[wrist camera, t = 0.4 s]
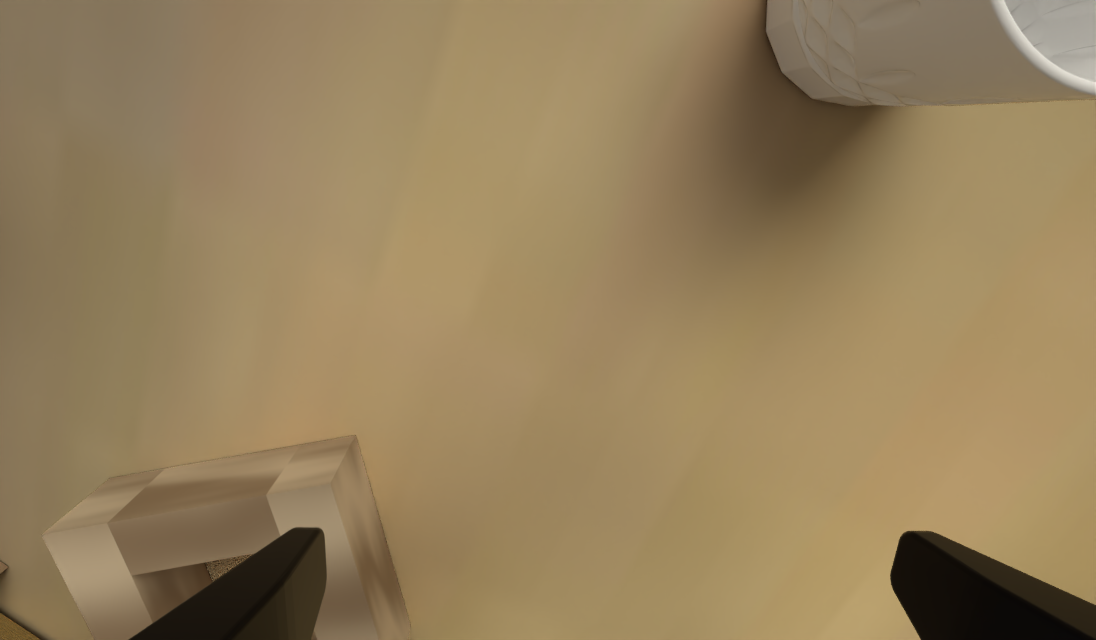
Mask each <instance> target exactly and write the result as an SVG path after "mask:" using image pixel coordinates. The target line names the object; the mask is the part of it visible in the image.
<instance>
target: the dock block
mask: <svg viewBox="0 0 1096 640" xmlns="http://www.w3.org/2000/svg"><path fill="white" fill-rule="evenodd" d="M295 527H319V528H321V529H322V530H323V532H324V535H325V549H326V567H327V581H326V588H325V593H324V596H323V600H322V603H321V607H320V610H319V614H318V617H317V621H316V624H315V628H314V631H313V635H312V638H311V640H408V638H409V633H410V628H411V625H410V621H409V618H408V615H407V611H406V608H405V604H404V601H403V597H402V594H401V590H400V587H399V583H398V580H397V577H396V573H395V570H394V566H393V563H392V559H391V556H390V552H389V549H388V545H387V542H386V538H385V535H384V532H383V528H382V525H381V521H380V518H379V514H378V511H377V507H376V504H375V500H374V497H373V493H372V490H371V487H370V483H369V480H368V476H367V473H366V469H365V466H364V462H363V459H362V455H361V452H360V448H359V445H358V442H357V438H356V435H353V436H348V437H342V438H336V439H330V440H325V441H319V442H313V443H308V444H302V445H296V446H290V447H285V448H279V449H273V450H268V451H262V452H256V453H250V454H245V455H239V456H233V457H228V458H222V459H216V460H210V461H205V462H199V463H193V464H188V465H182V466H176V467H170V468H165V469H159V470H153V471H148V472H142V473H136V474H130V475H125V476H119V477H113V478H109V479H108V480H107V481H106V482H104V483H103V484H102V485H101V486H100V487H98V488H97V489H96V490H95V491H93V492H92V493H91V494H90V495H89V496H87V497H86V498H85V499H84V500H83V501H81V502H80V503H79V504H78V505H77V506H75V507H74V508H73V509H72V510H70V511H69V512H68V513H67V514H66V515H64V516H63V517H62V518H61V519H60V520H58V521H57V522H56V523H55V524H54V525H52V526H51V527H50V528H49V529H47V530H46V531H45V532H44V533H43V534H41V536H42V537H43V539H44V541H45V543H46V545H47V547H48V549H49V551H50V553H51V555H52V557H53V559H54V561H55V563H56V565H57V567H58V569H59V571H60V573H61V575H62V577H63V579H64V581H65V583H66V585H67V587H68V589H69V591H70V593H71V595H72V597H73V599H74V600H75V602H76V604H77V606H78V608H79V610H80V612H81V614H82V616H83V618H84V620H85V622H86V624H87V626H88V628H89V630H90V632H91V634H92V636H93V638H94V640H128V639H130V638H131V637H133V636H134V635H136V634H137V633H139V632H140V631H142V630H143V629H145V628H146V627H147V626H149V625H150V624H152V623H153V622H155V621H156V620H158V619H159V618H161V617H162V616H164V615H165V614H167V613H168V612H170V611H171V610H172V609H174V608H175V607H177V606H178V605H180V604H181V603H183V602H184V601H186V600H187V599H189V598H190V597H192V596H193V595H195V594H196V593H197V592H199V591H200V590H202V589H203V588H205V587H206V586H208V585H209V584H211V583H212V580H211V578H210V575H209V573H208V571H207V568H206V566H205V562H210V561H216V560H221V559H227V558H232V557H238V556H244V555H249V554H255V553H256V552H258V551H259V550H261V549H262V548H264V547H265V546H267V545H268V544H269V543H271V542H272V541H274V540H275V539H277V538H278V537H280V536H281V535H283V534H284V533H286V532H287V531H289V530H290V529H292V528H295Z"/></svg>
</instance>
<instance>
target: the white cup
mask: <svg viewBox="0 0 1096 640" xmlns="http://www.w3.org/2000/svg"><path fill="white" fill-rule="evenodd" d="M766 33H767V36H768V38H769V41H770V43H771V46H772V49H773V51H774V54H775V56H776V59H777V62H778V64H779V67H780V69H781V72H782V73H783V74H784V75H785V76H786V77H787V78H789V79H790V80H791V81H792V82H793V83H794V84H795V85H797V86H798V87H799V88H800V89H801V90H802V91H804V92H805V93H806V94H807V95H808V96H809V97H810V98H812V99H816V100H821V101H826V102H831V103H836V104H841V105H847V106H865V105H883V106H923V105H928V106H964V105H985V104H1006V103H1028V102H1050V101H1074V100H1096V0H767V19H766Z"/></svg>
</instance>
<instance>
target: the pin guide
mask: <svg viewBox="0 0 1096 640" xmlns="http://www.w3.org/2000/svg"><path fill="white" fill-rule="evenodd" d="M6 568H8V566H6V565H5V564H3V563H2V562H1V561H0V574H1V573H2V572H3V571H4V570H5V569H6Z"/></svg>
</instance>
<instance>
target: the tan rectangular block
mask: <svg viewBox="0 0 1096 640" xmlns="http://www.w3.org/2000/svg"><path fill="white" fill-rule="evenodd" d="M0 640H40V639H39V638H37V637H36V636H34V635H33V634H31V633H30V632H28V631H27V630H25V629H24V628H22V627H21V626H19V625H18V624H16V623H15V622H13V621H12V620H10V619H9V618H7V617H6V616H4V615H3V614H1V613H0Z"/></svg>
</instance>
